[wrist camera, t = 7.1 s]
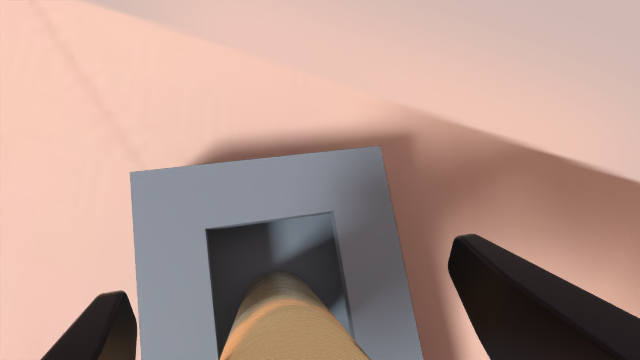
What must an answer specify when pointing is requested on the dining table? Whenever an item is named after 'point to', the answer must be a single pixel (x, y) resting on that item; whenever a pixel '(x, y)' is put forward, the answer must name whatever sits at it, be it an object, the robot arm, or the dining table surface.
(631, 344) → the robot arm
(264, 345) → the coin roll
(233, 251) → the grey socket block
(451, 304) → the dining table surface
